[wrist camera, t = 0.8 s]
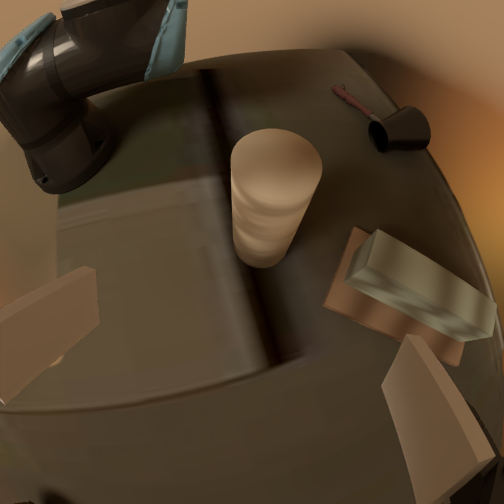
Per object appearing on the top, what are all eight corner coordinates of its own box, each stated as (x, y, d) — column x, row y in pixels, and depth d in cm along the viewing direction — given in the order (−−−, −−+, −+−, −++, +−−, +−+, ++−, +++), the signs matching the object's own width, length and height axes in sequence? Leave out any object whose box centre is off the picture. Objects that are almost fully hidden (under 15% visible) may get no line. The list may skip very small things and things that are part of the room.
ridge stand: (321, 305, 28) (345, 291, 21) (351, 229, 31) (375, 200, 25) (453, 366, 26) (490, 363, 19) (469, 297, 29) (502, 284, 22)
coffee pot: (423, 158, 37) (387, 170, 36) (364, 97, 44) (328, 104, 44) (437, 125, 30) (399, 134, 30) (368, 66, 38) (330, 71, 37)
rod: (223, 234, 30) (213, 149, 17) (267, 208, 32) (285, 119, 19) (253, 278, 29) (265, 215, 16) (298, 249, 30) (340, 174, 17)
